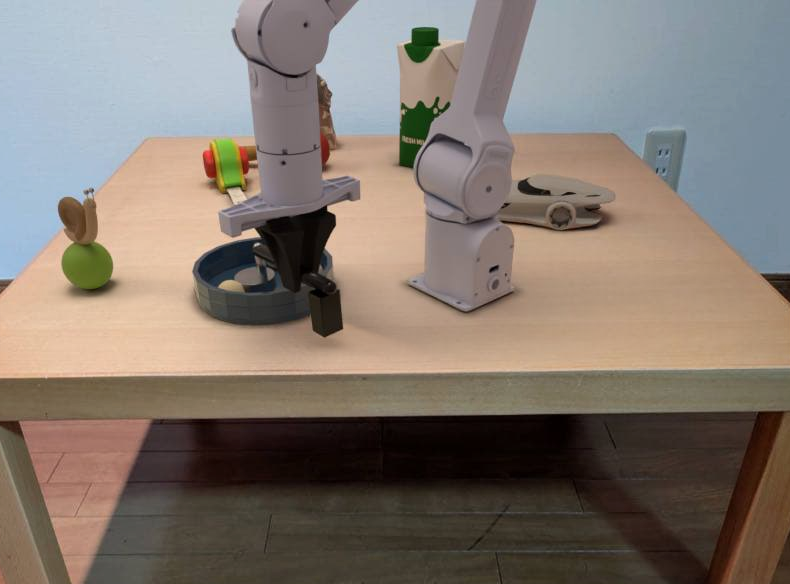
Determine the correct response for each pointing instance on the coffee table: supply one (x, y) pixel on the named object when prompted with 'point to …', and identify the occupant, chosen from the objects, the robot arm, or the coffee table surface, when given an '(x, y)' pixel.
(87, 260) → the snail figurine
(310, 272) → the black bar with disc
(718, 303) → the coffee table surface
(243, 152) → the toy measuring tape
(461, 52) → the milk carton
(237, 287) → the dumpling
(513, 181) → the car model
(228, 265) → the bowl
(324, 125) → the figurine
